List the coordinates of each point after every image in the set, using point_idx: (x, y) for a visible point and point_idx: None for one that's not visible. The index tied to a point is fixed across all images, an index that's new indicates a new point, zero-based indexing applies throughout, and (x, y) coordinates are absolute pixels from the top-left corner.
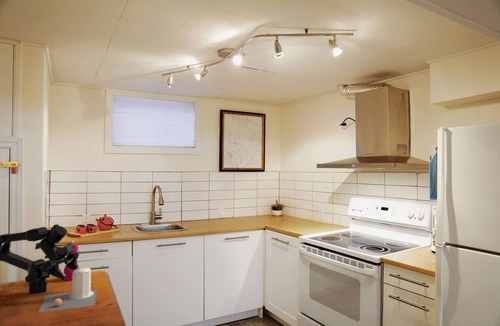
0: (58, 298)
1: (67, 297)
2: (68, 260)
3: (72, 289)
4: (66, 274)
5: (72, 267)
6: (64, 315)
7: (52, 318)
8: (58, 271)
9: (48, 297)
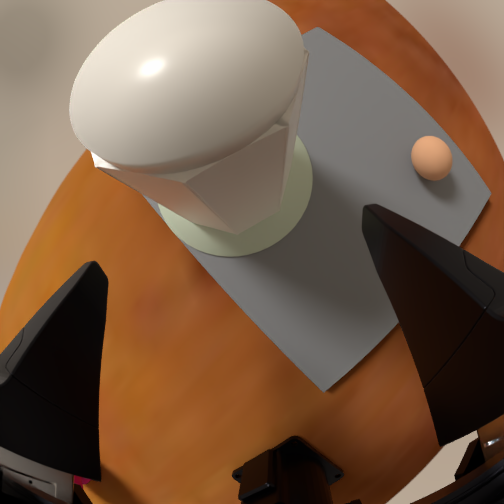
0: (439, 149)
1: (307, 225)
2: (45, 494)
3: (281, 196)
4: (79, 479)
5: (75, 384)
6: (430, 90)
7: (465, 115)
8: (486, 267)
9: (356, 347)
